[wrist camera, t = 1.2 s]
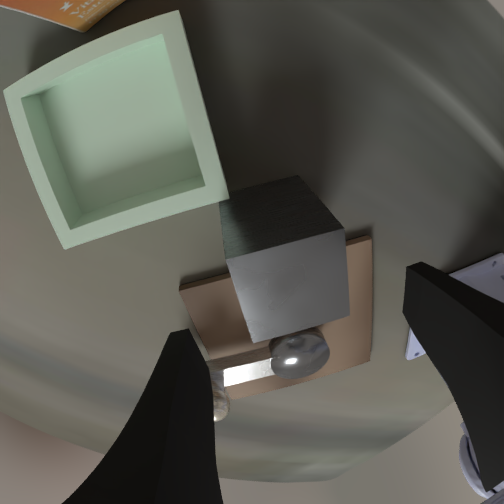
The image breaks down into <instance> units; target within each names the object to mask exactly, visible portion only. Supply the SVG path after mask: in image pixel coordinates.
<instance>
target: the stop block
mask: <svg viewBox="0 0 504 504" xmlns="http://www.w3.org/2000/svg"><path fill="white" fill-rule="evenodd" d="M229 198H230V199H226V200H223V201H219V207H220V216H221V225H222V234H223V242H224V251H225V259H226V263H227V266H228V269H229V272H230V275H231V278H232V281H233V284H234V287H235V290H236V293H237V296H238V299H239V302H240V305H241V309H242V312H243V315H244V318H245V321H246V323H247V326H248V329H249V332H250V335H251V338H252V341H253V343H256V342H260V341H264V340H268V339H272V338H275V337H279V336H283V335H286V334H290V333H294V332H297V331H301V330H304V329H308V328H311V327H315V326H318V325H321V324H325V323H328V322H331V321H335V320H338V319H341V318H344V317H347V316H350V303H349V283H348V267H347V253H346V241H345V230H344V227H343V226H342V225H341V224H340V222H339V221H338V220H337V219H336V218H335V217H334V215H333V214H332V213H331V212H330V211H329V210H328V208H327V207H326V206H325V205H324V204H323V203H322V202H321V200H320V199H319V198H318V197H317V196H316V195H315V194H314V193H313V191H312V190H311V189H310V188H309V187H308V186H307V185H306V184H305V183H304V181H303V180H302V179H301V178H300V177H299V176H298V175H297V176H293V177H289V178H285V179H280V180H276V181H272V182H268V183H264V184H260V185H257V186H253V187H249V188H245V189H241V190H237V191H234V192H230V193H229Z"/></svg>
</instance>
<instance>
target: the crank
mask: <svg viewBox="0 0 504 504" xmlns="http://www.w3.org/2000/svg"><path fill="white" fill-rule="evenodd" d="M329 356H330V349H329V347H328V345H327V342H326V340H325V338H324V335H323V333H322V332H321V330H320V329H318V328H317V327H311V328H308V329H304V330H301V331H297V332H294V333H290V334H286V335H283V336H279V337H275V338H272V339H271V341H270V342H269V344H268V346H266V347H262V348H258V349H254V350H250V351H246V352H242V353H238V354H234V355H230V356H225V357H221V358H217V359H212V360H208V361H205V362H206V364H207V365H208V367H209V371H210V377H211V383H212V390H213V400H214V422H216V421H220V420H222V419H223V418H225V417H226V416H227V414H228V413H229V410H230V401H229V398H228V397H227V395H226V394H225V386H228V385H232V384H237V383H241V382H246V381H250V380H254V379H258V378H262V377H266V376H270V375H274V374H276V375H277V376H279V377H281V378H285V379H299V378H303V377H307V376H309V375H312V374H314V373H315V372H317V371H318V370H320V369H321V368H322V367H323V366H324V365H325V364H326V363H327V361H328V359H329Z"/></svg>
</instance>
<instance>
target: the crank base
mask: <svg viewBox="0 0 504 504" xmlns="http://www.w3.org/2000/svg"><path fill="white" fill-rule="evenodd" d="M346 253H347V267H348V283H349V303H350V316H347V317H344V318H341V319H338V320H335V321H331V322H328V323H325V324H321V325H318V326H315V327H317V328H318V329H320V330H321V332H322V333H323V335H324V338H325V340H326V342H327V345H328V347H329V349H330V356H329V359H328V361H327V363H326V364H325V365H324V366H323V367H322V368H321V369H320V370H318V371H317V372H315V373H314V374H312V375H309V376H307V377H303V378H299V379H285V378H281V377H279V376H277V375H276V374H274V375H270V376H266V377H262V378H258V379H254V380H250V381H246V382H241V383H237V384H232V385H228V386H225V388H226V389H227V391H228V393H229V395H230V397H231V399H232V400H233V399H238V398H243V397H247V396H252V395H256V394H260V393H264V392H268V391H272V390H276V389H280V388H284V387H288V386H292V385H295V384H299V383H302V382H306V381H309V380H313V379H316V378H319V377H323V376H326V375H329V374H332V373H336V372H339V371H342V370H345V369H348V368H351V367H354V366H357V365H360V364H363V363H365V362H368V361H370V351H371V330H372V239H371V238H370V237H369V236H368V235H366V236H362V237H359V238H355V239H352V240H348V241H346ZM179 292H180V295H181V297H182V299H183V301H184V304H185V306H186V308H187V310H188V312H189V314H190V317H191V319H192V321H193V323H194V325H195V327H196V329H197V331H198V334H199V336H200V338H201V340H202V342H203V344H204V346H205V348H206V350H207V352H208V354H209V356H210V358H211V360H212V359H217V358H221V357H225V356H230V355H234V354H238V353H242V352H246V351H250V350H254V349H258V348H262V347H266V346H268V344H269V342H270V341H271V339H268V340H264V341H260V342H256V343H253V341H252V338H251V335H250V332H249V329H248V326H247V323H246V321H245V318H244V315H243V312H242V309H241V305H240V302H239V299H238V296H237V293H236V290H235V287H234V284H233V281H232V278H231V275H230V273H226V274H222V275H219V276H215V277H211V278H207V279H203V280H200V281H196V282H192V283H188V284H184V285H180V286H179Z"/></svg>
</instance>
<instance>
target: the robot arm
mask: <svg viewBox="0 0 504 504" xmlns="http://www.w3.org/2000/svg"><path fill="white" fill-rule="evenodd" d="M403 314H404V316H405V318H406V320H407V322H408V324H409V326H410V330H409V337H408V343H407V349H406V354H405V357H406V359H407V360H411V359H414V358H416V357H418V356H421V355H423V354H425V353H426V354H427V355H428V357H429V358H430V360H431V361H432V363H433V364H434V366H435V367H436V369H437V370H438V372H439V373H440V375H441V377H442V378H443V380H444V381H445V383H446V385H447V386H448V388H449V389H450V391H451V393H452V395H453V397H454V400H455V402H456V404H457V406H458V408H459V411H460V413H461V415H462V418H463V420H464V422H463V423H461V425H460V426H461V427H462V429H463V431H464V433H465V434H464V435H463V436H462V438H461V441H460V450H459V460H460V465H461V468H462V471H463V474H464V476H465V478H466V480H467V482H468V483H469V485H470V486H471V487H472V488H473V490H474V491H476V493H478V494H479V495H481V496H482V497H485V498H487V500H485V501H484V502H482V503H481V504H504V254H503V253H499V254H497V255H495V256H492V257H490V258H488V259H485V260H483V261H481V262H478V263H476V264H473V265H471V266H469V267H466V268H464V269H461V270H459V271H456V272H454V273H451V274H449V275H448V274H446V273H444V272H442V271H440V270H438V269H436V268H434V267H432V266H430V265H428V264H426V263H423V262H419V263H416V264H413V265H410V266H407V267H406V281H405V293H404V303H403ZM62 504H223V500H222V495H221V490H220V484H219V478H218V472H217V466H216V455H215V430H214V400H213V390H212V383H211V377H210V371H209V367H208V365H207V364H206V362H205V360H204V358H203V356H202V354H201V352H200V350H199V348H198V346H197V344H196V342H195V340H194V338H193V336H192V334H191V332H190V330H189V329H185V330H180V331H176V332H171V333H170V335H169V336H168V339H167V341H166V343H165V345H164V348H163V350H162V352H161V355H160V357H159V359H158V362H157V364H156V366H155V368H154V371H153V373H152V375H151V377H150V379H149V381H148V383H147V386H146V388H145V390H144V392H143V394H142V396H141V398H140V399H139V401H138V403H137V405H136V407H135V409H134V411H133V413H132V415H131V416H130V418H129V420H128V422H127V423H126V425H125V427H124V428H123V430H122V432H121V433H120V435H119V436H118V438H117V439H116V441H115V442H114V444H113V445H112V447H111V448H110V449H109V451H108V452H107V454H106V455H105V456H104V458H103V459H102V461H101V462H100V463H99V464H98V466H97V467H96V468H95V470H94V471H93V472H92V473H91V474H90V475H89V476H88V478H87V479H86V480H85V481H84V482H83V483H82V484H81V485H80V486H79V487H78V489H77V490H76V491H75V492H74V493H73V494H72V495H71V496H70V497H69V498H67V499H66V500H65V501H64V502H63V503H62Z"/></svg>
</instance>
